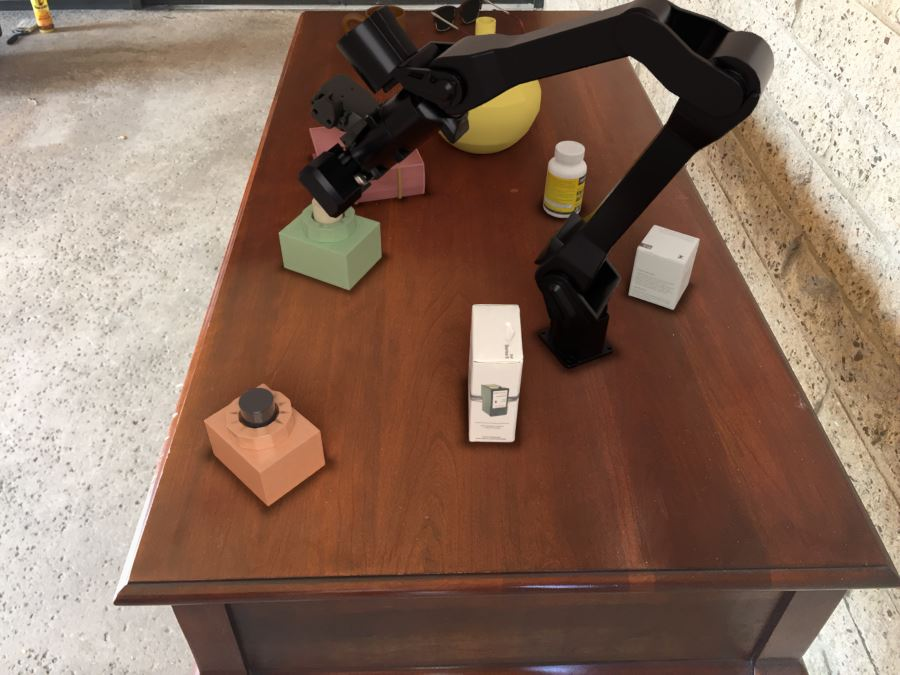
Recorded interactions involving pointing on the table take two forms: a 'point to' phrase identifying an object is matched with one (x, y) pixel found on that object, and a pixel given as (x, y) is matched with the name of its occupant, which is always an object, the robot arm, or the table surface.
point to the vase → (500, 112)
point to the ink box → (494, 372)
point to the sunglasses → (462, 14)
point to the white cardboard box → (663, 266)
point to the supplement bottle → (565, 180)
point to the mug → (359, 19)
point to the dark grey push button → (257, 407)
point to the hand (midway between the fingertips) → (326, 186)
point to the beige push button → (323, 214)
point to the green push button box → (331, 247)
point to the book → (393, 183)
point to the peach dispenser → (267, 448)
